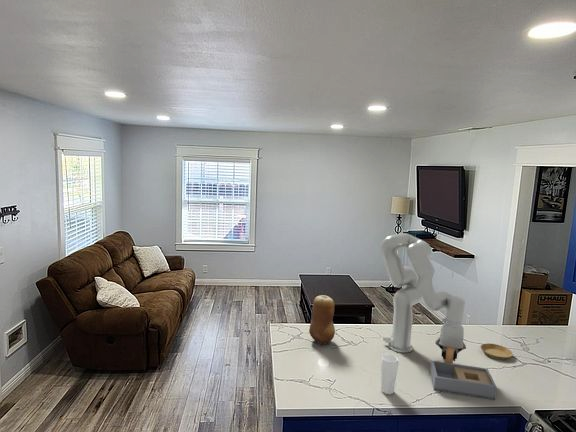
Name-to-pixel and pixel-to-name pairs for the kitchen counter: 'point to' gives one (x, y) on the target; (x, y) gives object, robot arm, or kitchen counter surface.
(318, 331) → the butternut squash
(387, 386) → the drinking glass
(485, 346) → the plant saucer
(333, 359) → the kitchen counter surface
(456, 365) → the box
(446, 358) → the peg
